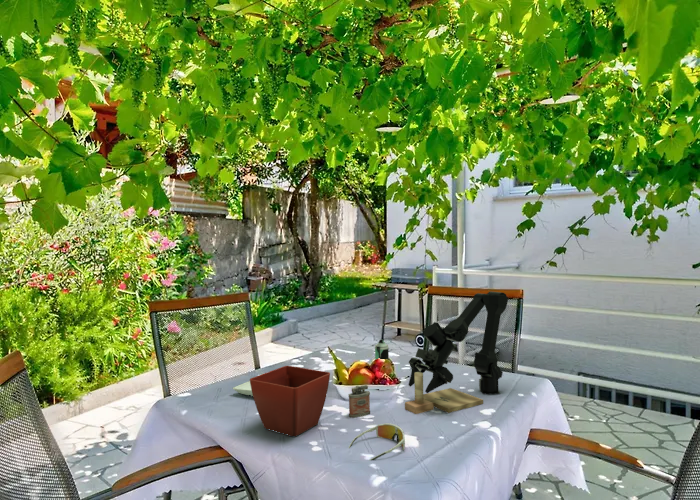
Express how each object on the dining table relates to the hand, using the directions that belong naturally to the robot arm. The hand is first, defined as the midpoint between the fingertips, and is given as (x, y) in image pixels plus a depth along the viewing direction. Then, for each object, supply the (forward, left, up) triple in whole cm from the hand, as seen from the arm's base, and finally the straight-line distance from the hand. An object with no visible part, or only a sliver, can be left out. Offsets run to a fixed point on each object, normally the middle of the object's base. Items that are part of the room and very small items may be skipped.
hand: (417, 388), depth 171 cm
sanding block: (0, 0, -7) cm, 7 cm away
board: (-12, -9, -7) cm, 17 cm away
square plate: (+53, -21, -8) cm, 58 cm away
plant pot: (+42, +17, -8) cm, 46 cm away
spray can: (+12, -25, -8) cm, 29 cm away
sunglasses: (+14, +31, -8) cm, 35 cm away
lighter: (+20, +5, -8) cm, 22 cm away
